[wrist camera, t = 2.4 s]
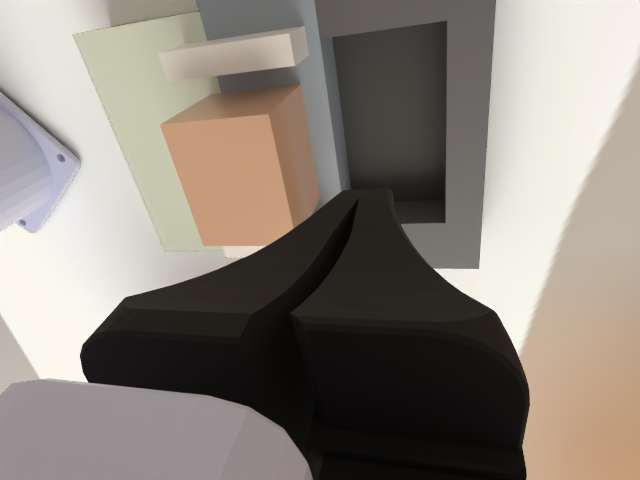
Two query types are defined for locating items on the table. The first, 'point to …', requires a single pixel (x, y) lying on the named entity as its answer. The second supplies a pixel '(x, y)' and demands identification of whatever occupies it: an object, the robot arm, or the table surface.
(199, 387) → the robot arm
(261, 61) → the channel walls
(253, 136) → the terracotta block
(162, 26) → the pad
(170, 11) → the table surface
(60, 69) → the table surface
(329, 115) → the gray recessed tray
